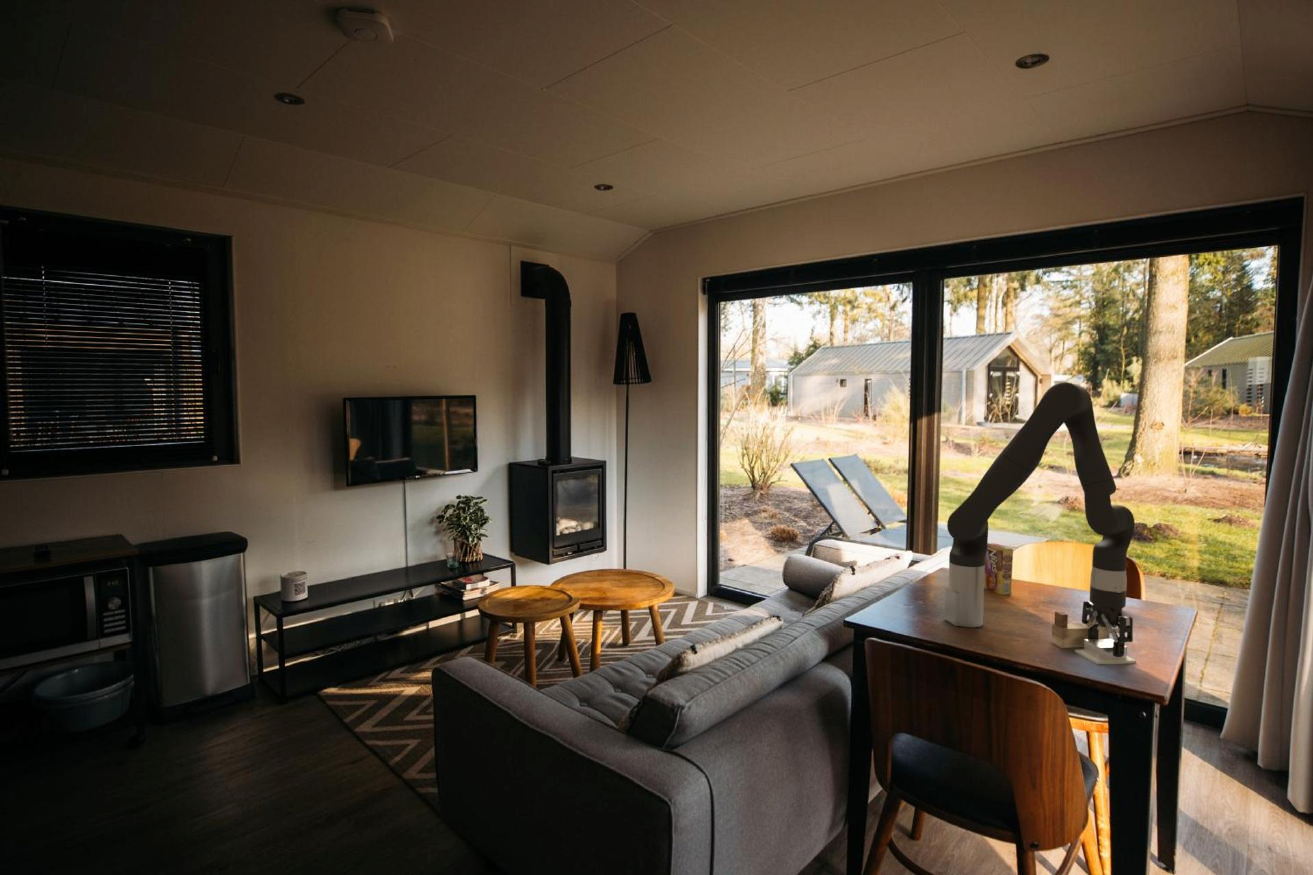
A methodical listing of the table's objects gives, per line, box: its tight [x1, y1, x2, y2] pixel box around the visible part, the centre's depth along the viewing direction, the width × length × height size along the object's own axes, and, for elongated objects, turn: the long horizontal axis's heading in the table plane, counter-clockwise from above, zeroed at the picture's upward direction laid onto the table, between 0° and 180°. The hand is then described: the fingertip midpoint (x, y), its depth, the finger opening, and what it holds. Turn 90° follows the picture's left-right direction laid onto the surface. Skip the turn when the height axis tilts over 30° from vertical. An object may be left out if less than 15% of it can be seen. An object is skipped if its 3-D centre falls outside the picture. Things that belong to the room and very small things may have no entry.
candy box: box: [984, 542, 1014, 596], centre depth 229 cm, size 9×4×15 cm, turn 13°
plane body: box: [1051, 610, 1111, 649], centre depth 181 cm, size 13×4×8 cm, turn 95°
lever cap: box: [1083, 638, 1128, 660], centre depth 172 cm, size 7×6×3 cm
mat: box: [1074, 648, 1137, 665], centre depth 172 cm, size 10×8×1 cm
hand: (1105, 649), depth 172 cm, fingers open, 8 cm apart
